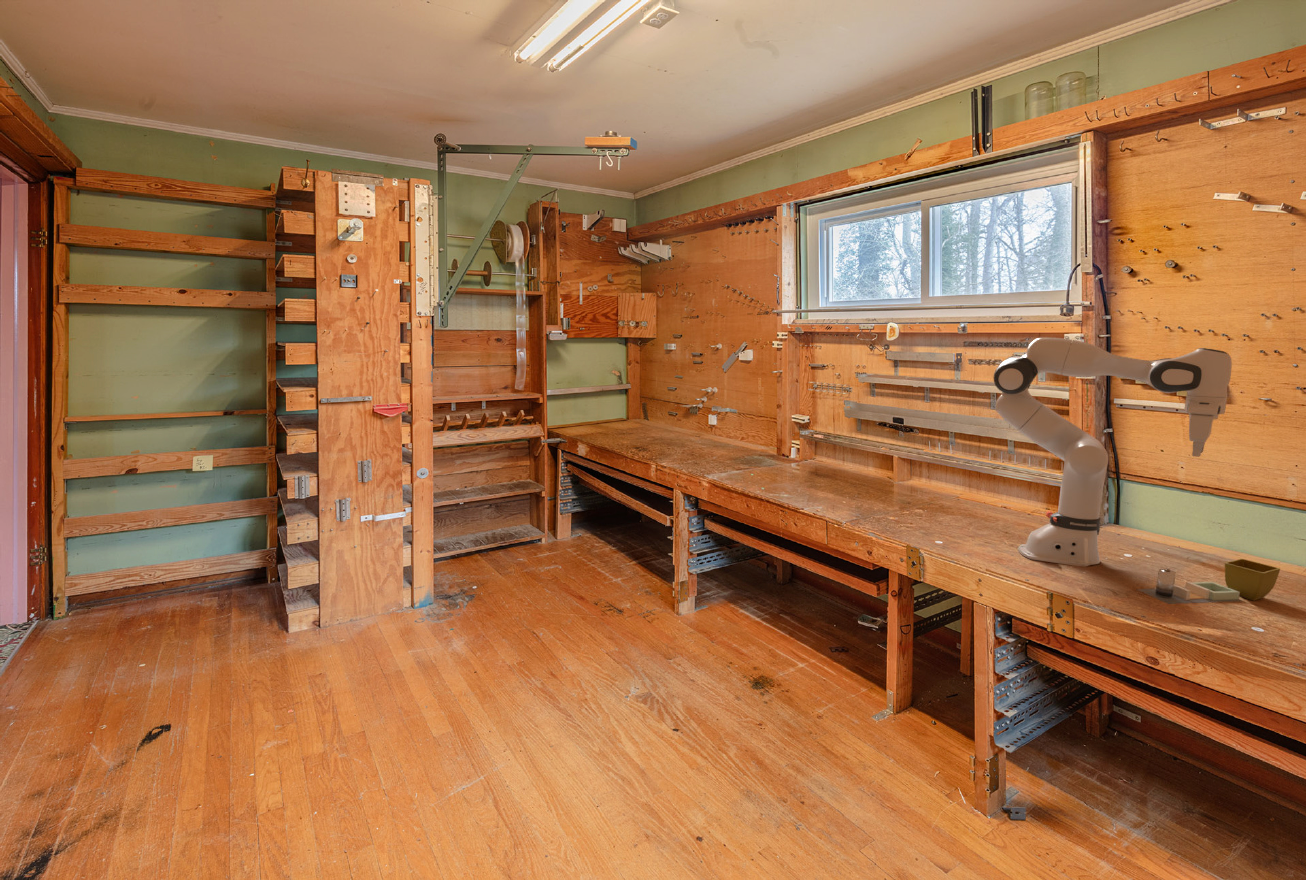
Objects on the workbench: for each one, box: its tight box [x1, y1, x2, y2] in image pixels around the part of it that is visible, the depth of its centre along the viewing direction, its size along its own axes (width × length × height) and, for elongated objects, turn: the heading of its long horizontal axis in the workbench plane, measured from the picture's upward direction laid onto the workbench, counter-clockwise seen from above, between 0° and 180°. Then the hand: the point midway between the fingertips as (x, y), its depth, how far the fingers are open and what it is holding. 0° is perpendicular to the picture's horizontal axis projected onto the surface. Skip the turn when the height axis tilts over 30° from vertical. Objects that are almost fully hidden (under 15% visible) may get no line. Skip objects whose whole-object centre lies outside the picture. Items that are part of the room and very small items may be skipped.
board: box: [1136, 588, 1243, 605], centre depth 175 cm, size 22×10×1 cm, turn 97°
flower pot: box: [1224, 558, 1281, 601], centre depth 177 cm, size 9×9×9 cm
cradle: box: [1173, 581, 1210, 600], centre depth 175 cm, size 7×6×2 cm
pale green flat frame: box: [1190, 581, 1240, 600], centre depth 176 cm, size 8×8×2 cm
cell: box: [1155, 568, 1177, 599], centre depth 174 cm, size 4×4×8 cm
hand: (1197, 454), depth 185 cm, fingers open, 8 cm apart
